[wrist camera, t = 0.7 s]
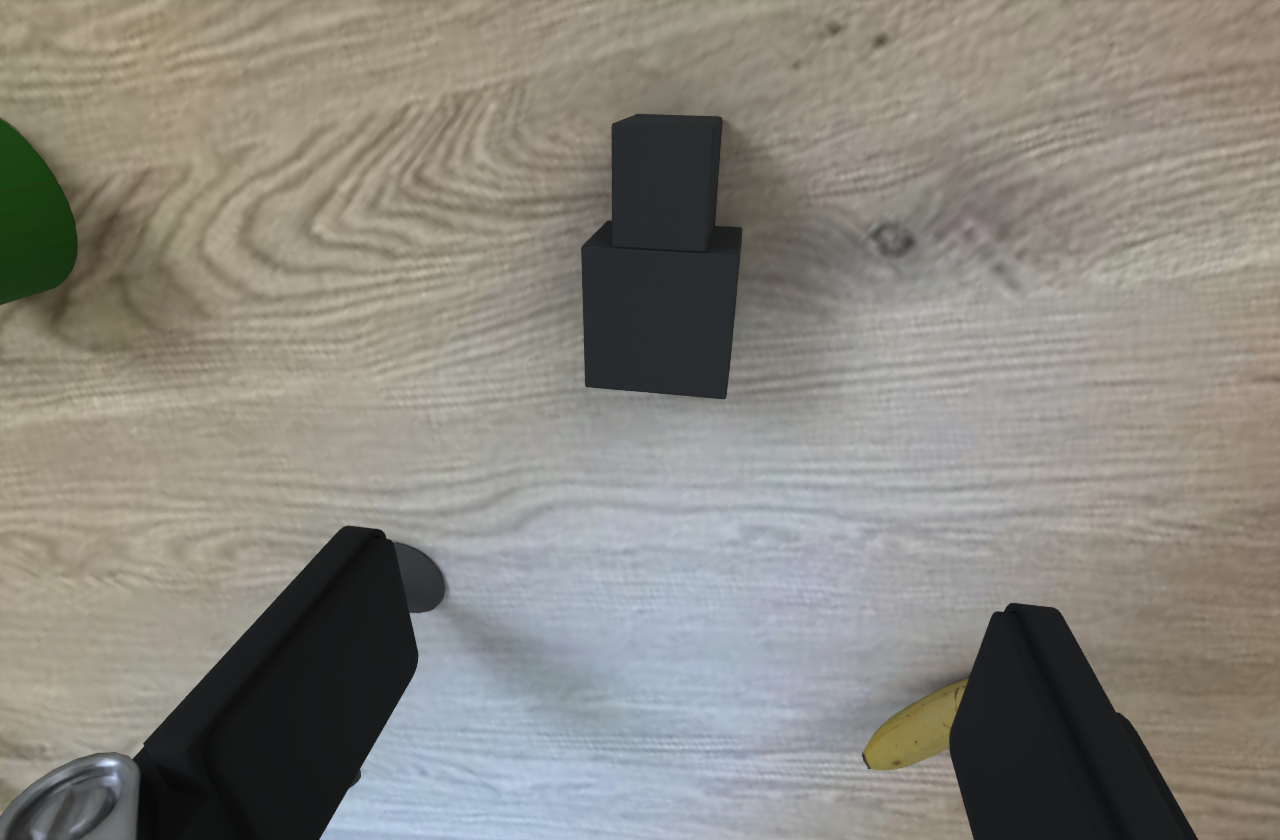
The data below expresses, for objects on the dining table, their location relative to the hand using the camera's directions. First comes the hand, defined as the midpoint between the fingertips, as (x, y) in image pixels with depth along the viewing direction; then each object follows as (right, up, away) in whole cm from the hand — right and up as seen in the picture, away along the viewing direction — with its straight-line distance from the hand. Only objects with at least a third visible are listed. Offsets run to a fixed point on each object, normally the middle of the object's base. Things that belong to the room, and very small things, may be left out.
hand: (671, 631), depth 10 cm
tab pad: (+1, +10, +14) cm, 17 cm away
